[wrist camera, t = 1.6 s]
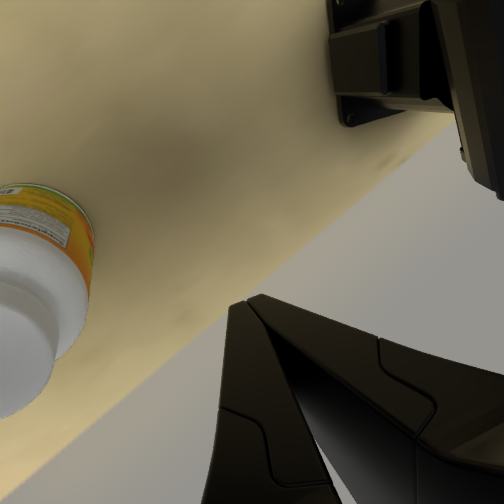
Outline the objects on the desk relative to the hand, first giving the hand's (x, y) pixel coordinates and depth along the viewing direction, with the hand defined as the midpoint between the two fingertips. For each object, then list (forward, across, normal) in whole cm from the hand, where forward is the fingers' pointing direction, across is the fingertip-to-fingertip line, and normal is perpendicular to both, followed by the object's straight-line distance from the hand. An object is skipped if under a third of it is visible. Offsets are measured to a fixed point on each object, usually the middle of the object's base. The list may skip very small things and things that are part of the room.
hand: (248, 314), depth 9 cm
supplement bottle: (+12, +7, 0) cm, 14 cm away
